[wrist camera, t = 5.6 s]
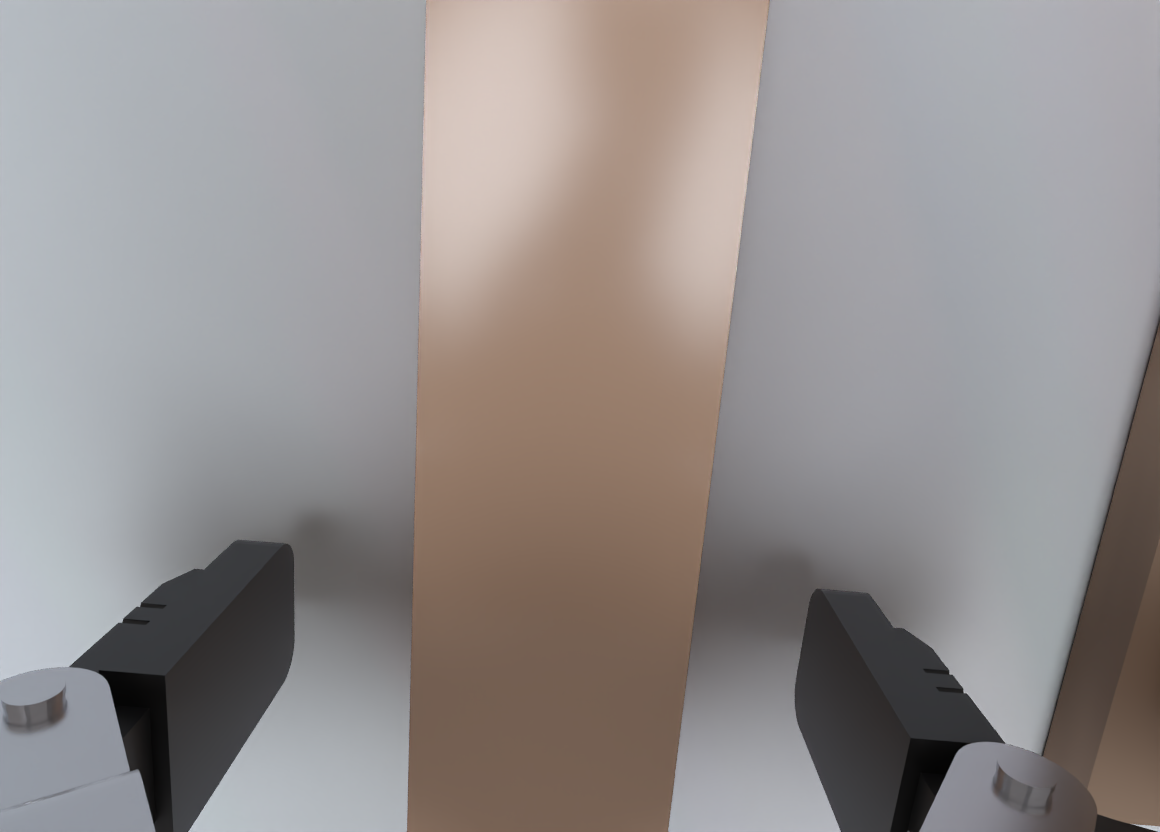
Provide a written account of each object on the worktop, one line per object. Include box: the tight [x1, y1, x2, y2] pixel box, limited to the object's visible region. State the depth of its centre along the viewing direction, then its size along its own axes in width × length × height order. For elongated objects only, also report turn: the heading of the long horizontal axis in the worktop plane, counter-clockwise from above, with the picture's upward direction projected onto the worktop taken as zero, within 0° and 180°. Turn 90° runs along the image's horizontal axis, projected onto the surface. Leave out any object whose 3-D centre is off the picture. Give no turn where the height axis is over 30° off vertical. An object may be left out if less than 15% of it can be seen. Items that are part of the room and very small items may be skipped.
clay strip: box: [407, 0, 770, 832], centre depth 11 cm, size 16×3×4 cm, turn 176°
